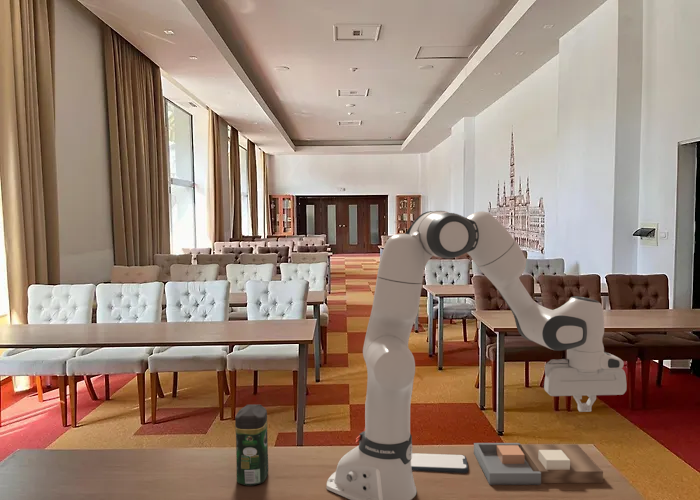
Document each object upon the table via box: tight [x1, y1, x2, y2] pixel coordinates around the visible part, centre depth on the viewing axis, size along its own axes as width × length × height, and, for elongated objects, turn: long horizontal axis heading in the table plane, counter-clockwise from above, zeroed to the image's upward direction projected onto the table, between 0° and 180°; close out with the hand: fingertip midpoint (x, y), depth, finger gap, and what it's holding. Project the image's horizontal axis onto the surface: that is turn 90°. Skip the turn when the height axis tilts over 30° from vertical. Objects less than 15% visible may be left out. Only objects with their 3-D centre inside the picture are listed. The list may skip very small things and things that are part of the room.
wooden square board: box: [520, 443, 604, 484], centre depth 146 cm, size 16×16×3 cm
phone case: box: [411, 452, 469, 474], centre depth 149 cm, size 9×2×16 cm
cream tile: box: [538, 450, 570, 470], centre depth 142 cm, size 6×6×2 cm
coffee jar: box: [234, 404, 269, 487], centre depth 141 cm, size 10×8×19 cm
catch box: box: [473, 442, 542, 486], centre depth 146 cm, size 13×18×3 cm
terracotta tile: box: [497, 445, 525, 464], centre depth 151 cm, size 6×6×2 cm
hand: (584, 411), depth 142 cm, fingers closed
